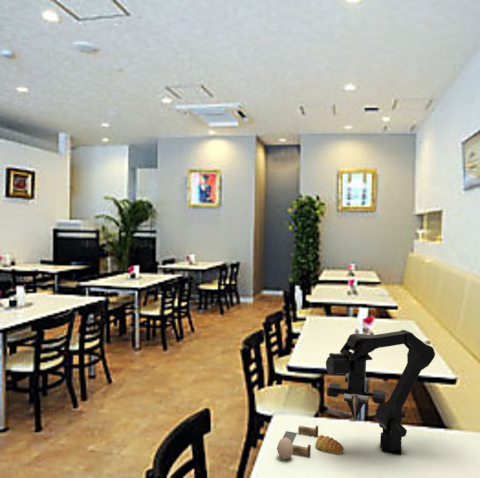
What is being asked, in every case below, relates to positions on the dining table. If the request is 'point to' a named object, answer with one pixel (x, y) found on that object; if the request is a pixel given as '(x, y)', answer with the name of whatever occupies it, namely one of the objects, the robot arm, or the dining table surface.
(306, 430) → the wooden blocks
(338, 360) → the robot arm
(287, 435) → the mat
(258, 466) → the dining table surface
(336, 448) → the pastry
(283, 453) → the egg
